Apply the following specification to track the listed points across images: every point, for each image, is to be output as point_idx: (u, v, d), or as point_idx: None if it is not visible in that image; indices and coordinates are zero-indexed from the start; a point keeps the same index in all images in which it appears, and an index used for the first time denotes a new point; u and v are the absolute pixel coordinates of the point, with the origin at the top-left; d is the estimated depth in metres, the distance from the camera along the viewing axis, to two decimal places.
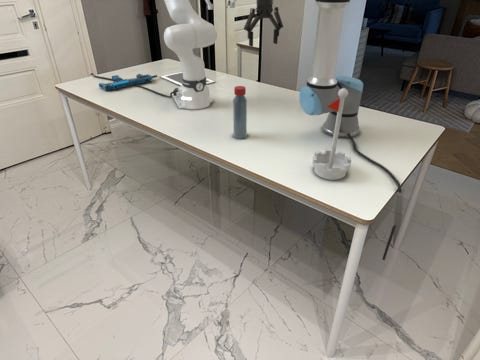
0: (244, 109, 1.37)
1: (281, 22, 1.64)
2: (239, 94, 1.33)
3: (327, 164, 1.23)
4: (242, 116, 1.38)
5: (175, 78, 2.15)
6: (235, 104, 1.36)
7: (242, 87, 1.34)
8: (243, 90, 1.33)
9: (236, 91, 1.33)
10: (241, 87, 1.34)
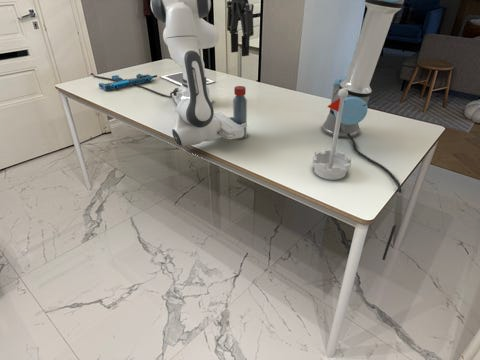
0: (244, 109, 1.37)
1: (247, 28, 1.17)
2: (239, 94, 1.33)
3: (327, 164, 1.23)
4: (242, 116, 1.38)
5: (175, 78, 2.15)
6: (235, 104, 1.36)
7: (242, 87, 1.34)
8: (243, 90, 1.33)
9: (236, 91, 1.33)
10: (241, 87, 1.34)
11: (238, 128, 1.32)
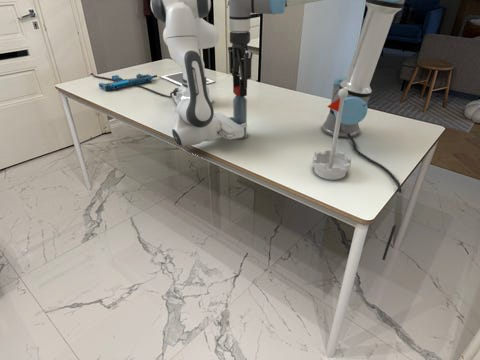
0: (244, 109, 1.37)
1: (245, 73, 1.26)
2: (239, 94, 1.33)
3: (327, 164, 1.23)
4: (242, 116, 1.38)
5: (175, 78, 2.15)
6: (235, 104, 1.36)
7: None
8: None
9: (236, 91, 1.33)
10: None
11: (238, 128, 1.32)
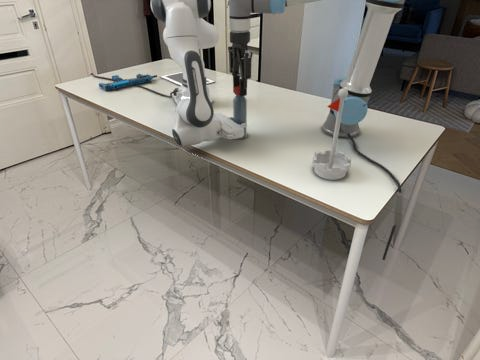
0: (244, 109, 1.37)
1: (245, 73, 1.26)
2: None
3: (327, 164, 1.23)
4: (242, 116, 1.38)
5: (175, 78, 2.15)
6: (235, 104, 1.36)
7: (239, 86, 1.35)
8: None
9: None
10: (238, 86, 1.34)
11: (238, 128, 1.32)
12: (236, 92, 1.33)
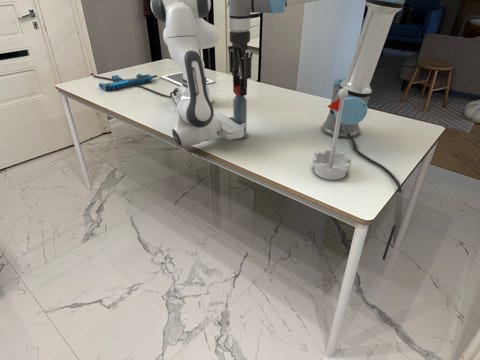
0: (244, 109, 1.37)
1: (245, 72, 1.26)
2: None
3: (327, 164, 1.23)
4: (242, 116, 1.38)
5: (175, 78, 2.15)
6: (235, 104, 1.36)
7: (237, 87, 1.33)
8: None
9: None
10: (238, 87, 1.33)
11: (238, 128, 1.32)
12: None
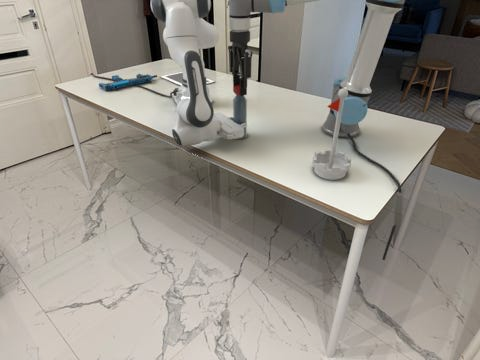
0: (244, 109, 1.37)
1: (245, 72, 1.26)
2: (235, 92, 1.34)
3: (327, 164, 1.23)
4: (242, 116, 1.38)
5: (175, 78, 2.15)
6: (235, 104, 1.36)
7: None
8: (239, 89, 1.32)
9: (234, 89, 1.34)
10: None
11: (238, 128, 1.32)
12: None
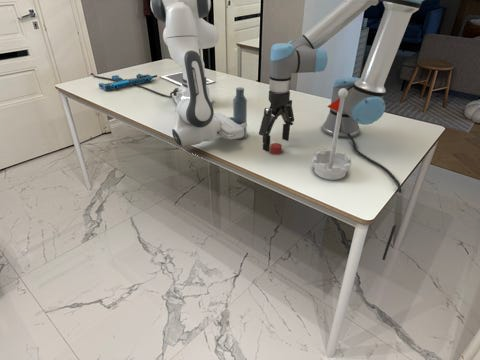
0: (244, 109, 1.37)
1: (293, 116, 1.32)
2: (280, 151, 1.32)
3: (327, 164, 1.23)
4: (242, 116, 1.38)
5: (175, 78, 2.15)
6: (235, 104, 1.36)
7: (276, 144, 1.33)
8: None
9: (278, 150, 1.31)
10: (276, 144, 1.33)
11: (238, 128, 1.32)
12: (270, 148, 1.33)
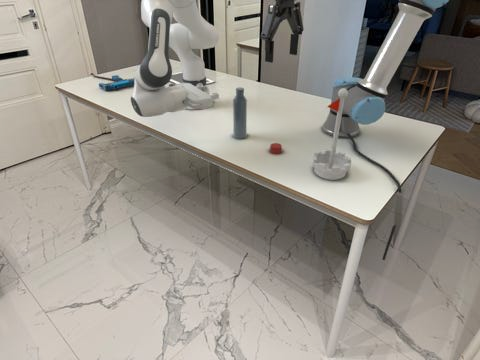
0: (244, 109, 1.37)
1: (302, 24, 1.14)
2: (280, 151, 1.32)
3: (327, 164, 1.23)
4: (242, 116, 1.38)
5: (175, 78, 2.15)
6: (235, 104, 1.36)
7: (276, 144, 1.33)
8: None
9: (278, 150, 1.31)
10: (276, 144, 1.33)
11: (205, 97, 1.18)
12: (270, 148, 1.33)
